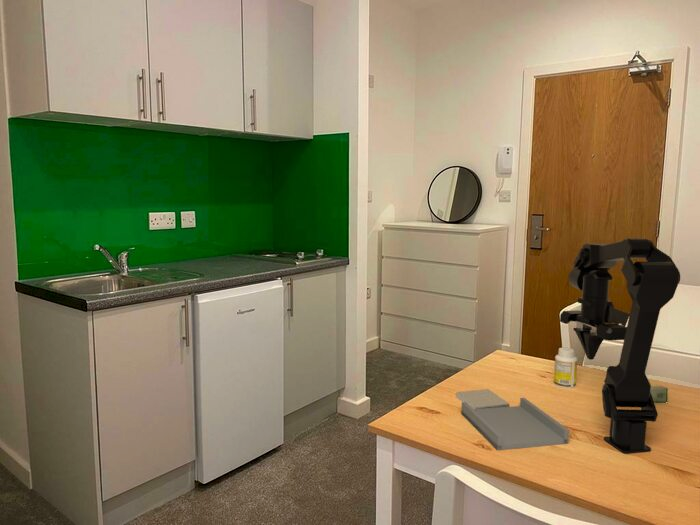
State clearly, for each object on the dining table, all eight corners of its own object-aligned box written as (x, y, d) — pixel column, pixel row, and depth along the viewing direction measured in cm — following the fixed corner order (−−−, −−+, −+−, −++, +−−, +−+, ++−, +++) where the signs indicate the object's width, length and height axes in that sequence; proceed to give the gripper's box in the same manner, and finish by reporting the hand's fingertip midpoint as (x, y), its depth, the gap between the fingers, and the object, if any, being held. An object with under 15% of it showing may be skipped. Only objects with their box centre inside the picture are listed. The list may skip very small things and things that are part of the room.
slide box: (568, 443, 112) (569, 430, 111) (497, 450, 109) (497, 436, 108) (523, 409, 129) (524, 397, 129) (461, 414, 126) (461, 402, 126)
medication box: (660, 401, 137) (661, 385, 136) (668, 404, 134) (669, 388, 134) (616, 401, 135) (617, 385, 135) (623, 404, 132) (624, 388, 132)
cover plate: (508, 411, 129) (509, 403, 129) (475, 415, 127) (475, 407, 127) (487, 396, 139) (488, 389, 139) (455, 399, 136) (456, 392, 136)
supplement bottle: (566, 381, 149) (569, 345, 148) (580, 388, 144) (582, 351, 143) (549, 383, 148) (551, 347, 147) (561, 390, 142) (564, 352, 141)
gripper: (653, 302, 121) (647, 369, 123) (599, 288, 139) (595, 346, 141) (609, 304, 118) (604, 372, 120) (560, 289, 137) (556, 348, 139)
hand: (590, 359), depth 130 cm, fingers closed
